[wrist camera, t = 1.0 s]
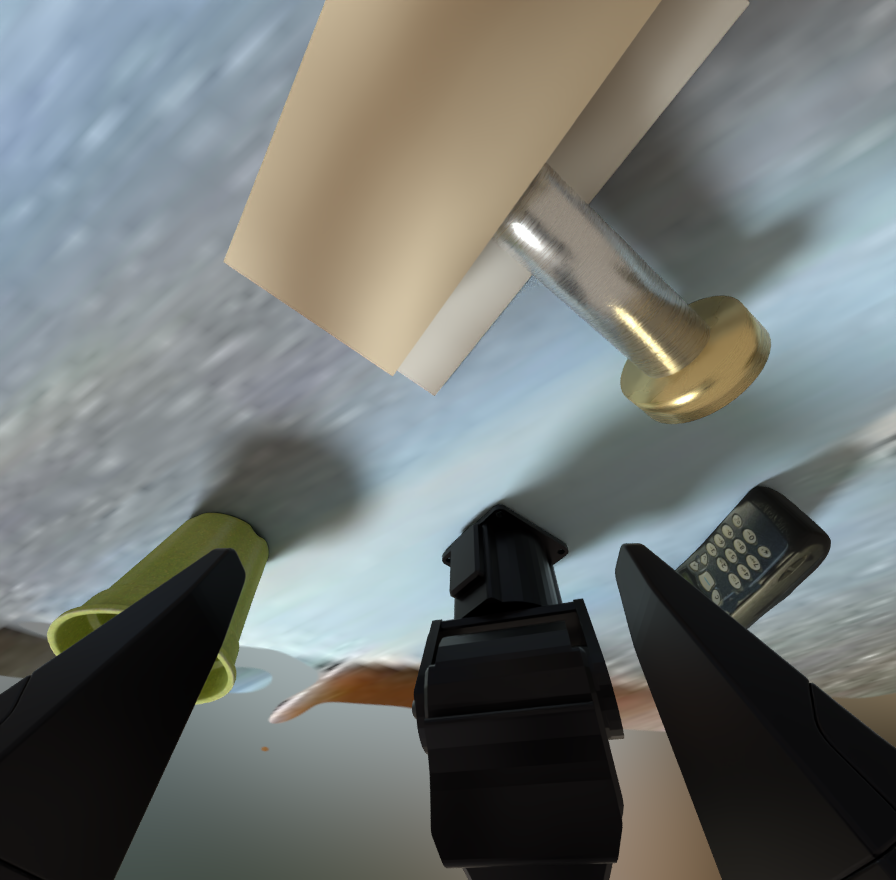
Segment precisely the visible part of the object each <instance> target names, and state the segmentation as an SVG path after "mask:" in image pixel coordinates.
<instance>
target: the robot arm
mask: <svg viewBox="0 0 896 880" xmlns="http://www.w3.org/2000/svg"><path fill="white" fill-rule="evenodd" d="M497 512H502V513H497ZM560 549H562V550H560ZM567 554H568V548H567V545H566V544H565V543H563V542H562V541H560V540H559V539H557V538H555V537H554V536H552V535H551V534H549V533H547V532H546V531H544V530H543V529H541V528H539V527H538V526H536V525H535V524H533V523H531V522H530V521H528V520H527V519H525V518H523V517H522V516H520V515H519V514H517V513H515V512H514V511H512V510H510V509H509V508H507V507H506V506H504V505H496V506H494V507H493V508H492V509H491V510H490V511H489V512H487V513H486V514H485V515H484V516H483V517H482V518H481V519H480V520H479V521H478V522H477V523H475V524H473V525H471V526H470V527H469V528H468V529H467V530H466V531H465V532H464V533H463V534H462V535H461V536H460V537H458V538H457V539H456V540H455V541H454V542H453V543H452V544H451V547H450V548H448V549H447V550H446V551H445V552H444V553H443V555H442V561H443V563H444V564H446V565H448V566H449V567H450V595H451V596H452V597H453V598H455V605H454V619H453V620H446V621H442V619H441V620H435V621H432V624H431V628H430V632H429V634H428V637H427V641H426V645H425V649H424V653H423V657H422V661H421V665H420V669H419V673H418V677H417V681H416V685H415V689H414V701H413V704H412V713H413V716H414V717H415V718H416V719H417V727H418V733H419V738H420V741H421V744H422V747H423V749H424V751H425V753H426V754H428V760H429V771H430V800H431V801H430V803H431V833H432V837H433V840H434V842H435V845H436V848H437V850H438V853H439V855H440V858H441V861H442V863H443V865H444V866H445V867H446V868H463V870H464V872H465V874H466V876H467V878H468V880H609V878H610V873H611V868H612V864H613V863H617V860H618V856H619V848H620V841H621V834H622V815H623V807H624V805H623V798H622V794H621V790H620V786H619V782H618V778H617V774H616V770H615V766H614V761H613V758H612V754H611V750H610V745H609V741H608V740H613V739H623V738H624V733H623V727H622V723H621V718H620V714H619V710H618V706H617V702H616V698H615V694H614V691H613V687H612V684H611V680H610V677H609V673H608V670H607V667H606V663H605V660H604V657H603V654H602V651H601V649H600V646H599V643H598V640H597V637H596V634H595V631H594V629H593V626H592V623H591V620H590V617H589V614H588V611H587V609H586V606H585V603H584V600H583V599H576V600H573V602H568V603H562V600H561V596H560V592H559V588H558V584H557V580H556V576H555V571H554V567H553V565H554V564H555V563H556V562H558V561H559V560H560V559H562V558H563V557H564V556H566V555H567ZM615 576H616V581H617V585H618V589H619V592H620V596H621V600H622V604H623V608H624V611H625V615H626V619H627V623H628V627H629V631H630V634H631V638H632V641H633V645H634V648H635V651H636V654H637V657H638V659H639V662H640V665H641V667H642V670H643V672H644V675H645V678H646V680H647V683H648V686H649V688H650V691H651V694H652V696H653V699H654V701H655V704H656V707H657V709H658V712H659V715H660V717H661V720H662V723H663V725H664V728H665V730H666V733H667V736H668V738H669V741H670V744H671V746H672V749H673V752H674V754H675V757H676V759H677V762H678V765H679V767H680V770H681V772H682V775H683V778H684V780H685V783H686V786H687V788H688V791H689V794H690V796H691V799H692V801H693V804H694V807H695V809H696V812H697V815H698V817H699V820H700V823H701V825H702V828H703V831H704V833H705V836H706V839H707V841H708V844H709V846H710V849H711V852H712V854H713V857H714V859H715V862H716V865H717V867H718V870H719V873H720V875H721V878H722V880H896V748H895V747H894V746H892V745H891V744H890V743H888V742H887V741H886V740H884V739H883V738H881V737H880V736H879V735H877V734H876V733H875V732H874V731H872V730H871V729H870V728H869V727H867V726H866V725H865V724H864V723H862V722H861V721H860V720H859V719H857V718H856V717H855V716H854V715H852V714H851V713H850V712H849V711H847V710H846V709H845V708H843V707H842V706H841V705H840V704H838V703H837V702H836V701H835V700H833V699H832V698H831V697H830V696H829V695H827V694H826V693H825V692H824V691H822V690H821V689H820V688H819V687H818V686H816V685H815V684H814V683H809V680H808V679H807V678H806V677H805V676H804V675H803V674H801V673H800V672H799V671H798V670H796V669H795V668H794V667H793V666H792V665H790V664H789V663H788V662H787V661H785V660H784V659H783V658H782V657H781V656H779V655H778V654H777V653H776V652H774V651H773V650H772V649H771V648H769V647H768V646H767V645H766V644H765V643H763V642H762V641H761V640H760V639H758V638H757V637H756V636H755V635H754V634H752V633H751V632H750V631H749V630H747V629H746V628H745V627H744V626H742V625H741V624H740V623H739V622H738V621H736V620H735V619H734V618H733V617H731V616H730V615H729V614H728V613H727V612H725V611H724V610H723V609H722V608H720V607H719V606H718V605H717V604H716V603H714V602H713V601H712V600H711V599H709V598H708V597H707V596H706V595H704V594H703V593H702V592H701V591H700V590H698V589H697V588H696V587H695V586H693V585H692V584H691V583H690V582H689V581H687V580H686V579H685V578H684V577H682V576H681V575H680V574H679V573H677V572H676V571H675V570H674V569H673V568H671V567H670V566H669V565H668V564H666V563H665V562H664V561H663V560H662V559H660V558H659V557H658V556H657V555H655V554H654V553H653V552H652V551H651V550H649V549H648V548H647V547H646V546H644V545H642V544H640V543H625V544H623V545H622V546H621V548H620V551H619V556H618V560H617V564H616V568H615ZM245 579H246V573H245V569H244V567H243V565H242V563H241V561H240V558H239V556H238V554H237V552H236V551H235V550H234V549H233V548H216V549H213V550H212V551H210V552H209V553H207V554H206V555H204V556H203V557H201V558H200V559H199V560H197V561H196V562H194V563H193V564H191V565H190V566H188V567H187V568H185V569H184V570H182V571H181V572H179V573H178V574H176V575H175V576H174V577H172V578H171V579H169V580H168V581H166V582H165V583H163V584H162V585H160V586H159V587H157V588H156V589H154V590H153V591H152V592H150V593H149V594H147V595H146V596H144V597H143V598H141V599H140V600H138V601H137V602H135V603H134V604H132V605H131V606H129V607H128V608H127V609H125V610H124V611H122V612H121V613H119V614H118V615H116V616H115V617H113V618H112V619H110V620H109V621H107V622H106V623H104V624H103V625H102V626H100V627H99V628H97V629H96V630H94V631H93V632H91V633H90V634H88V635H87V636H85V637H84V638H82V639H81V640H79V641H78V642H77V643H75V644H74V645H72V646H71V647H69V648H68V649H66V650H65V651H63V652H62V653H60V654H59V655H57V656H56V657H55V658H53V659H52V660H50V661H49V662H47V663H46V664H44V665H43V666H41V667H40V668H38V669H37V670H35V671H34V672H33V673H32V675H29V676H26V677H25V678H23V679H22V680H21V681H19V682H18V683H16V684H15V685H13V686H12V687H10V688H9V689H8V690H6V691H4V692H3V693H1V694H0V880H114V878H115V876H116V874H117V872H118V870H119V868H120V866H121V864H122V861H123V859H124V857H125V855H126V853H127V850H128V848H129V846H130V844H131V842H132V840H133V837H134V835H135V833H136V831H137V829H138V827H139V825H140V822H141V820H142V818H143V816H144V814H145V812H146V809H147V807H148V805H149V803H150V801H151V798H152V797H153V794H154V792H155V790H156V788H157V786H158V784H159V781H160V779H161V777H162V775H163V772H164V770H165V768H166V766H167V764H168V762H169V760H170V757H171V755H172V753H173V751H174V749H175V747H176V745H177V742H178V740H179V738H180V736H181V734H182V731H183V729H184V727H185V725H186V723H187V721H188V719H189V716H190V714H191V712H192V710H193V708H194V706H195V704H196V701H197V699H198V697H199V695H200V693H201V691H202V688H203V686H204V684H205V682H206V680H207V678H208V675H209V673H210V671H211V669H212V667H213V665H214V662H215V660H216V658H217V656H218V654H219V651H220V649H221V647H222V645H223V642H224V639H225V637H226V634H227V631H228V628H229V626H230V623H231V620H232V617H233V614H234V611H235V609H236V606H237V603H238V600H239V597H240V594H241V591H242V589H243V586H244V583H245Z"/></svg>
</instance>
